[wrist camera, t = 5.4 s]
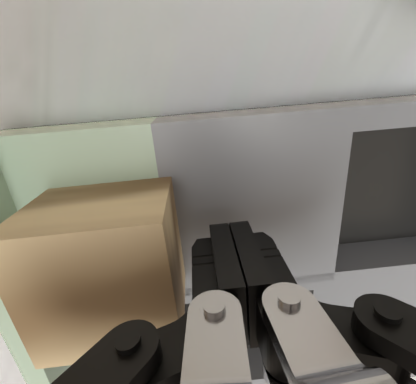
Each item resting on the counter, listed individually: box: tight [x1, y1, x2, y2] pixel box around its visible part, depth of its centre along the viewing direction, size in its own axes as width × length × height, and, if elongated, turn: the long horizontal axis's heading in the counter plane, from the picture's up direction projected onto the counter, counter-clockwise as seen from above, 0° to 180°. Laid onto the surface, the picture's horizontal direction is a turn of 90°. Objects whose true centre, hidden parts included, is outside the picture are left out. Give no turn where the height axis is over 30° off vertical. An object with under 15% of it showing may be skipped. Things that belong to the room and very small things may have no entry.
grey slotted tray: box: [0, 95, 416, 384], centre depth 14 cm, size 17×22×4 cm
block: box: [0, 177, 185, 369], centre depth 10 cm, size 5×5×4 cm
